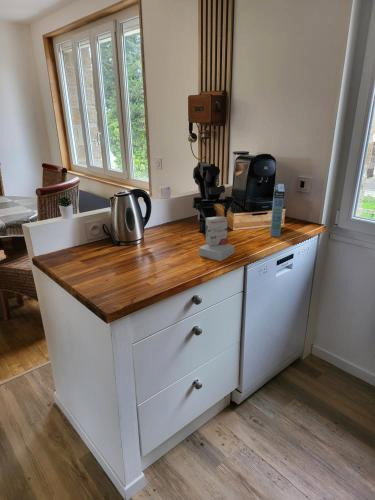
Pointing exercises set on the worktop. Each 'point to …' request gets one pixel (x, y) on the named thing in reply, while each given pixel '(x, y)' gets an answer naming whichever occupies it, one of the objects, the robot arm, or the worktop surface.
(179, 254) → the worktop surface
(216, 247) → the base block
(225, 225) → the ink box
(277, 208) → the gum box
